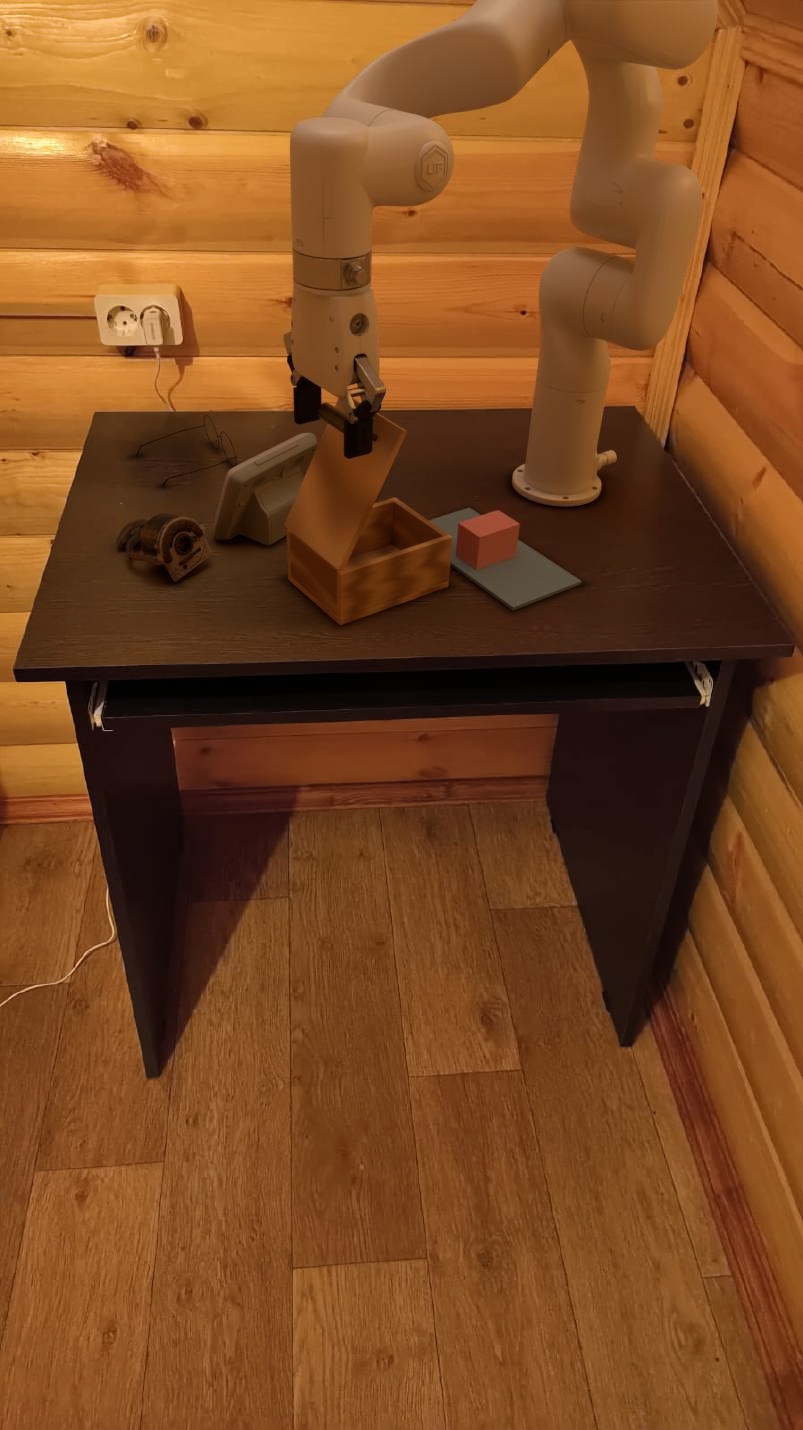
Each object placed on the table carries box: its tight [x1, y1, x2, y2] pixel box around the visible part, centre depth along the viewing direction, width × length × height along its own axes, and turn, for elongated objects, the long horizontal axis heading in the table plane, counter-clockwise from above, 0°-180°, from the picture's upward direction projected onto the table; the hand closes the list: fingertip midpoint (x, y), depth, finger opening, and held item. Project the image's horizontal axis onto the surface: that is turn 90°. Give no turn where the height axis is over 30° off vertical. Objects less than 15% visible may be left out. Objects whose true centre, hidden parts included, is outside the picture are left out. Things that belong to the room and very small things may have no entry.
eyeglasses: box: [135, 414, 237, 487], centre depth 144 cm, size 11×13×5 cm
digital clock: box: [212, 432, 319, 547], centre depth 130 cm, size 16×9×11 cm, turn 133°
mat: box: [427, 507, 582, 612], centre depth 129 cm, size 11×22×1 cm, turn 36°
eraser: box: [456, 509, 521, 570], centre depth 127 cm, size 6×4×5 cm, turn 126°
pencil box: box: [286, 497, 453, 626], centre depth 121 cm, size 16×12×7 cm
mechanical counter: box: [116, 512, 213, 583], centre depth 123 cm, size 7×13×10 cm
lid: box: [284, 397, 408, 571], centre depth 111 cm, size 16×12×5 cm
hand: (332, 437), depth 108 cm, fingers open, 9 cm apart
